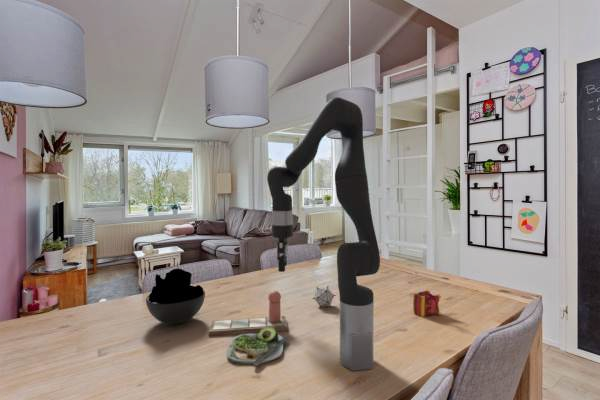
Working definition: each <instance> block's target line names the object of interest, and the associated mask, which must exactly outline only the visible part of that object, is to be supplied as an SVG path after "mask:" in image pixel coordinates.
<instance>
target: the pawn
mask: <svg viewBox="0 0 600 400" xmlns="http://www.w3.org/2000/svg"><path fill="white" fill-rule="evenodd" d="M267 298H268V317H269V322H270V323H272V324H277V323H280V322H281V298H282V295H281V293H280V292H279V291H278V290H272V291H270V292H269V294H268V297H267Z"/></svg>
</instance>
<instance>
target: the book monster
mask: <svg viewBox="0 0 600 400" xmlns="http://www.w3.org/2000/svg"><path fill="white" fill-rule="evenodd" d="M441 298H442V295H441V294H439V293H438V294H433V293H431V290H429V289H426V290H424V291H418V292H414V293H413V302H412V303H413V305H412V306H413V308H412V309H413V313H414V314H415V315H416V316H418V317H421V318H425V316H430V315H431V316H432V315H437V316H441V315H442V313H441V311H440V308H439V302H440V299H441Z"/></svg>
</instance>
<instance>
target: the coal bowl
mask: <svg viewBox="0 0 600 400" xmlns="http://www.w3.org/2000/svg"><path fill="white" fill-rule="evenodd" d="M191 279H192V273H191V271H190V272H189V271H187V270H184V269H182V268H173V269H171V270H170V271H168V272H166V273H165V277H164V278H162V277H161V275H160V274H155V278H154V280H155V285H153V286H152V288H151V291H150V293H149V295H147V296H146V298H145V303H146V307H147V310H148V311H149V313H150V315H151V316H152V317H153V318H154V319H156V320H157V321H159V322H160V323H163V324H166V325H179V324H183V323H185V322H187V321H189V320H191V319H192V318H194V317H196V315H197V314H198V313H199V311H200V310H201V308H202V307H203V304H204V302H205V297H206V292H205V290H204V288H203V287H202V286H201V285H199V284H197V285H195V286H194V285H191V284H192V283H191V282H192V280H191Z"/></svg>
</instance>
